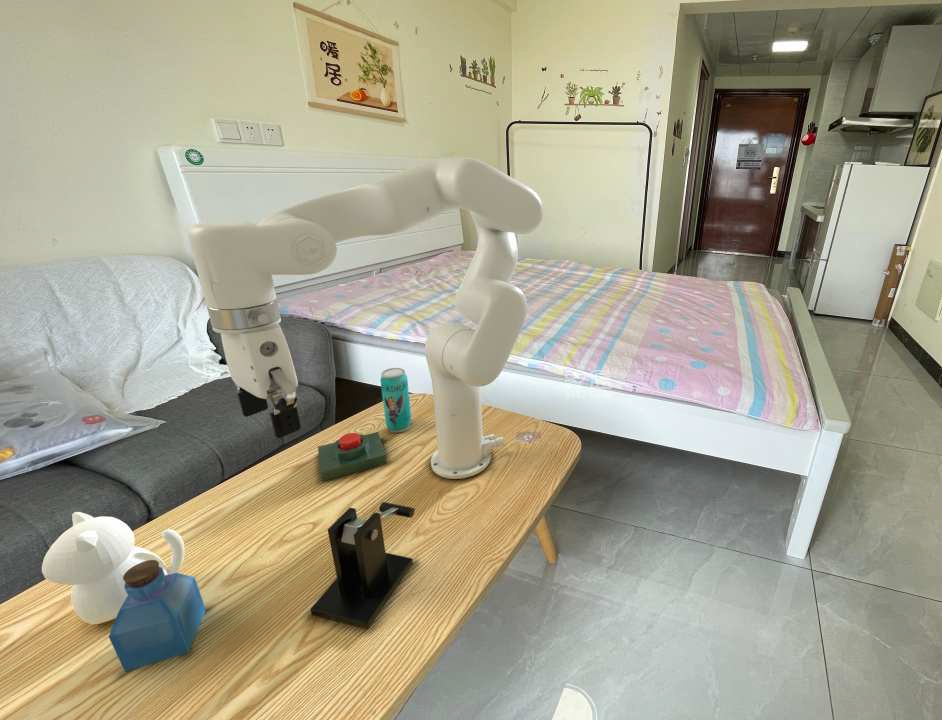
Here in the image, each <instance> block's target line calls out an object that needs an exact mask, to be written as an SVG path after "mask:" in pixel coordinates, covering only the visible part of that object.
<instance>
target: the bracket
mask: <svg viewBox="0 0 942 720" xmlns="http://www.w3.org/2000/svg"><path fill="white" fill-rule="evenodd" d="M380 513H381V512H375V511H374V512H373V513H372V514H371V515H370V516H369V517H368V518H367V519H366V520H367V521H366V522H365V523H364V524H363V525H362V526H361V527H360V528H359V530H358V531H357V532H356V533H355V534H354V541H355V545H354V544H349V543H344V542H341V540H342V534H343V529H344V525H345V524H347V523H349V522H351V521H353V520H355V519H357V518H358V516H357V515H358V514H357V509H356V508H355V507H349V508H347V510H345V512H343V513H342V515H341V516H340V517H338V519H336V520H335V522H334V523H333V524H332V525H331V526H329V528H328V529H327V534H328V535H327V536H328V539H329V545H330V550H331V555H332V560H333V565H334V571H335V575H336V578H335V579H334V581H333V582H332V583H331V585H330V586H329V587H328V588H327V589H326V590H325V592H323V594H322V595H321V596H320V597H319V598H318V599H317V601H316V602H315V603H314V604H313V605H312V606H311V608H310V609H309V611H310V616H313V617H316V618H321V619H325V620H330V621H333V622H338V623H342V624H346V625H349V626H354V627H358V628H362V629H366V630H369V629H370V628H371V626H372V624H373V623H374V621H376V619H377V617H378V616H379V614H380V613H381V612H382V610H383V609H384V607H385V606H386V604H387V602H389V600H390V598H391V597H392V595H393V594H394V592H395V591H396V589H397V588H398V587H399V586H400V583H401V582H402V581H403V579H404V578H405V577H406V575H407V573H408V572H409V570H410V569H411V567H412V566H413V565H414V562H413V560H414V559H413V558H411V557H408V556H404V555H403V556H402V555H398V554H393V553H388V552H386V547H385V546H386V545H385V539H384V532H383V525H382V524H383V523H381V517H380Z"/></svg>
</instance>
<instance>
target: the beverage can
mask: <svg viewBox="0 0 942 720" xmlns="http://www.w3.org/2000/svg"><path fill="white" fill-rule="evenodd" d="M380 376H381V377H380V387H381V388H380V389H381V396H382V405H383V412H384V413H383V414H384V420H385V426H386V427H387V429H388V431H390V432H391V433H394V434H399V433H403V432H406V431H407V430H408V429H409V428H410V426H411V423H412V411H411V402H410V393H409V392H410V391H409V382H408V375H407V374H406V370H405V369H404V368H402V367H391V368H387V369H385V370H383V371H382V372H381V373H380Z"/></svg>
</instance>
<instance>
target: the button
mask: <svg viewBox="0 0 942 720" xmlns="http://www.w3.org/2000/svg"><path fill="white" fill-rule="evenodd" d="M338 440H339V445H340V448H341V449H342V450H350V449H354V448H356V447H358V446H360V444H361V439H360V435H359V433H358V432H350V433H349V432H348V433H345V434H344V435H341V436H340V437H339V439H338Z"/></svg>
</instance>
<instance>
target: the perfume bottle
mask: <svg viewBox="0 0 942 720" xmlns="http://www.w3.org/2000/svg"><path fill="white" fill-rule="evenodd" d="M123 580H124V581H125V582H126V583H125V585H124V587H125V590H126V593H127V594H128V596H127V598H126V600H125V601H124V603H123V605H122V606H121V608H120V610H119V612H118V615H117V617H116V618H115V619H114V622H113V625H112V627H111V630H110V632H109V634H108V638H109V641H110V643H111V645H112V647H113V649H114V651H115V654H116V656H117V658H118V660H119V663H120V664H121V667H122V669H123V671H124V672H129V671H132V670H135V669H138V668H141V667H144V666H148V665H151V664H152V665H153V664H155V663H158V662H162V661H165V660H167V659H172V658H174V657H178V656H181V655H185V654H188V653H190V650H191V648H192V645H193V643H194V641H195V638H196V635H197V633H198V630H199V629H200V627H201V623H202V621H203V619H204V616H205V613H206V611H207V609H206V605H205V603H204V600H203V597H202V595H201V592H200V589H199V586H198V582H197V580H196V577H195V576H191V575H188V574H183V573H179V572H177V573H173V574H169V575H165V574H164V571H163V569H162V568H161V567H159V563H158V561H156V560H147V561H144V562H141V563H139V564H137V565H135V566H133V567H132V568H130V569H129V570H128V571H127V572H126V573H125V574H124V576H123Z"/></svg>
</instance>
